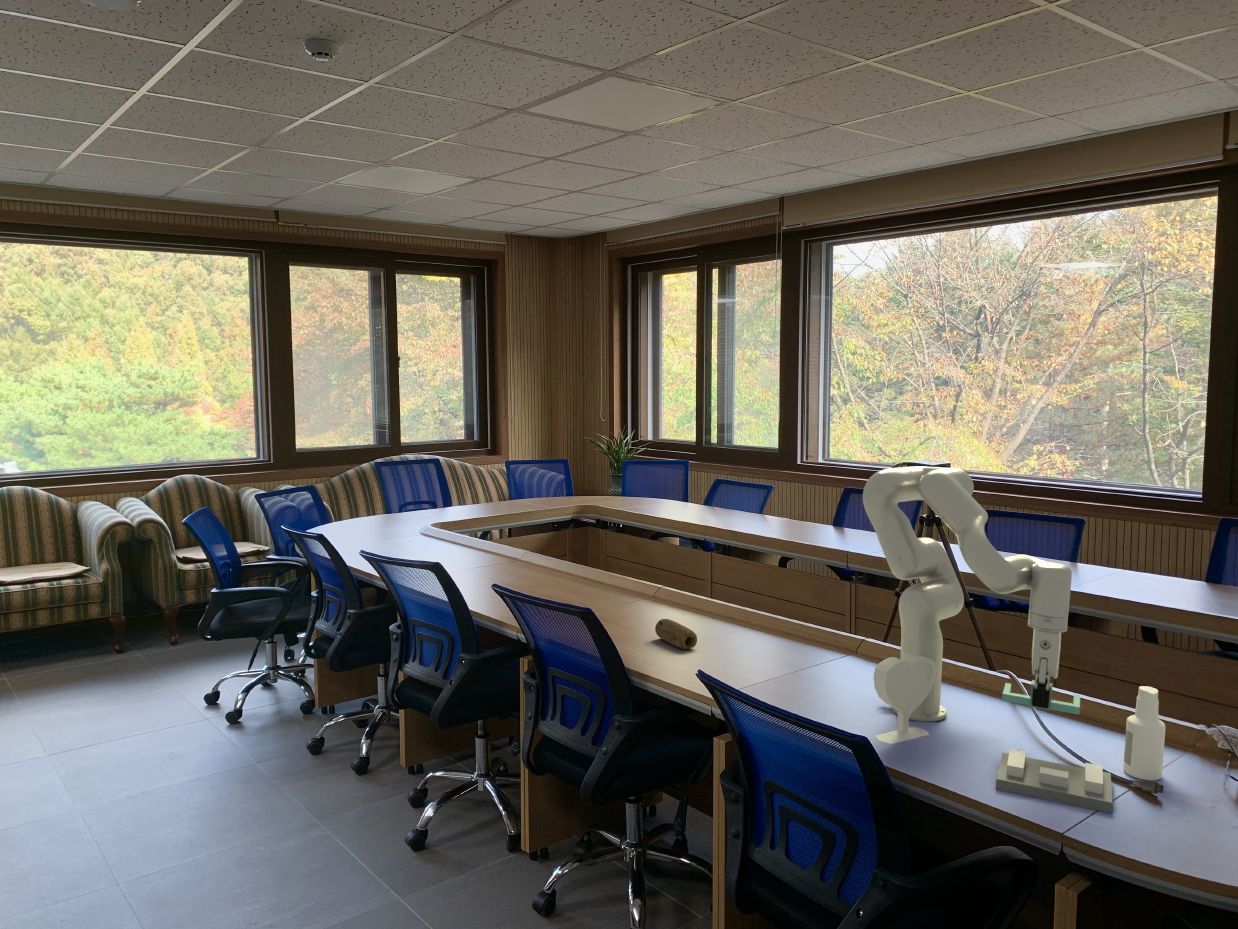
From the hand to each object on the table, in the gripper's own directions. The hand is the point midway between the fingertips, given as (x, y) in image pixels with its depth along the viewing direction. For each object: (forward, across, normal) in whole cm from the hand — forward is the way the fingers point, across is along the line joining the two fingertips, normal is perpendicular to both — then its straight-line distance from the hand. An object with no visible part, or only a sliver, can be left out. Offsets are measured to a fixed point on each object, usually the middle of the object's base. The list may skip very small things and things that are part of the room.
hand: (1040, 703), depth 189 cm
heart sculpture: (+12, -4, +27) cm, 30 cm away
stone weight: (+14, +32, +100) cm, 105 cm away
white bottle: (+11, 0, -20) cm, 23 cm away
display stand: (+11, -15, -4) cm, 19 cm away
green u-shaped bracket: (+1, +3, 0) cm, 3 cm away
